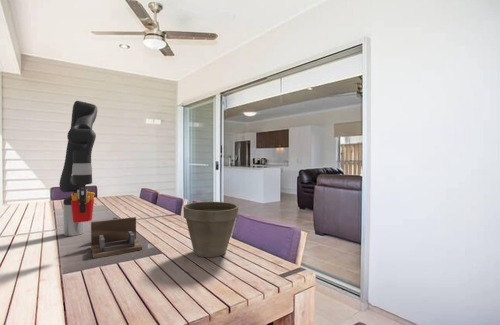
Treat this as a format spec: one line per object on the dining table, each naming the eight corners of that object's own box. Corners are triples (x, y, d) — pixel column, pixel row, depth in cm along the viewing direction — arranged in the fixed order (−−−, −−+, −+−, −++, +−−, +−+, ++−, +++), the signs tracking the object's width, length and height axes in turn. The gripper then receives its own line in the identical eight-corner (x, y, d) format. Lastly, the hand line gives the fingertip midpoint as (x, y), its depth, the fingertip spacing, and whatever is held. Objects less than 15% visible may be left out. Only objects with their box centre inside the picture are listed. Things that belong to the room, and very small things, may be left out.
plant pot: (245, 246, 133) (245, 202, 132) (224, 265, 109) (224, 212, 109) (200, 241, 141) (200, 199, 140) (172, 258, 118) (172, 208, 117)
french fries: (73, 223, 116) (73, 192, 117) (69, 222, 119) (69, 192, 119) (96, 220, 123) (96, 191, 124) (92, 219, 126) (92, 191, 126)
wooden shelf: (91, 247, 131) (90, 221, 131) (135, 240, 142) (135, 216, 142) (93, 258, 117) (93, 229, 117) (142, 249, 128) (142, 223, 128)
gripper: (92, 174, 117) (93, 213, 117) (91, 172, 129) (91, 208, 129) (71, 174, 113) (72, 215, 113) (72, 173, 125) (72, 209, 125)
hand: (82, 211), depth 121 cm, fingers closed on french fries, 4 cm apart
